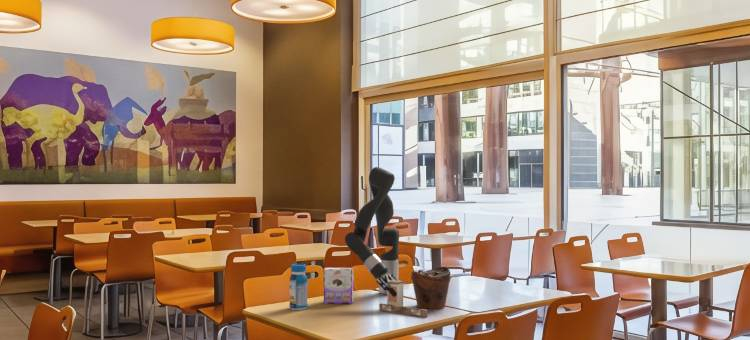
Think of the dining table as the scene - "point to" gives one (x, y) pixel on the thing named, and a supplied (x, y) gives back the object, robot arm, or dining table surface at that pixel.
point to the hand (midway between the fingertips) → (398, 294)
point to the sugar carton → (398, 288)
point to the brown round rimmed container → (431, 287)
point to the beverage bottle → (298, 287)
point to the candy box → (338, 285)
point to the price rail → (403, 310)
